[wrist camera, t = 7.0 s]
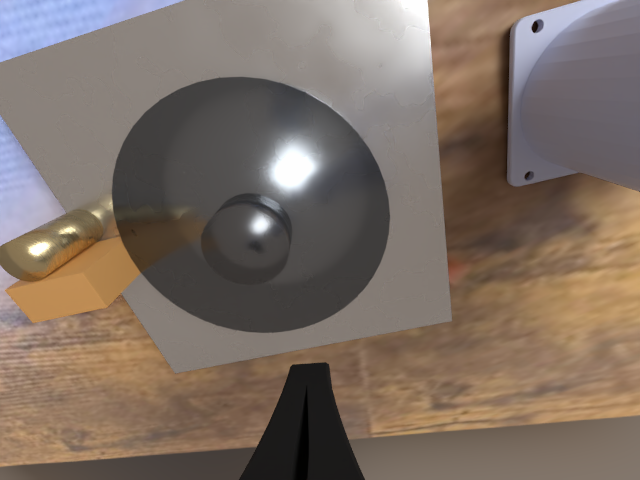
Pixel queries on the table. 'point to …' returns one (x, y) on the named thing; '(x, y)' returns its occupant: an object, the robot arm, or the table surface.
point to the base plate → (255, 62)
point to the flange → (233, 212)
